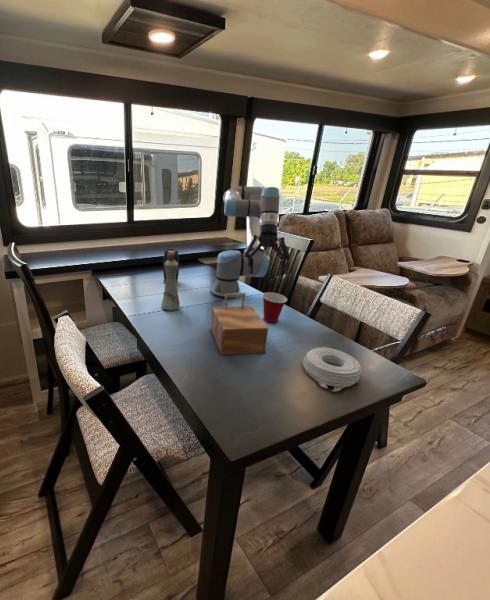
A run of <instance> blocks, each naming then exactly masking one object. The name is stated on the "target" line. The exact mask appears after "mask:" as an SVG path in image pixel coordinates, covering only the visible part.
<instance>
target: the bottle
mask: <svg viewBox="0 0 490 600" xmlns="http://www.w3.org/2000/svg"><path fill="white" fill-rule="evenodd" d="M167 257H168V260H167V261H166V262H165V264H164V265H165V272H166V282H164V290H163V296H162V303H161V308H162V309H163V310H166V311H171V312H172V311H178V309H179V308H180V297H179V291H178V290H179V289H178V281H177V282H176V273H177V267H178V263H177V262H176V261H175V260H174V259H175V253H173V252H170V253H168V254H167Z"/></svg>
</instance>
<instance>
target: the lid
mask: <svg viewBox="0 0 490 600" xmlns="http://www.w3.org/2000/svg"><path fill="white" fill-rule="evenodd" d="M245 298H246V293H245V292H240V293H225V298H224V306H212V311H213V310H214V313H215V315H216V317H217V319H218V321H219V323H220V325H221V327H222V329H223V331H242V330H268V331H269V327H268V326H267V324H266V323H265V321H263V320H264V319H262V317H260V315H259V314H258V312H257V311H256V310H255V308H254V307H253V306H252V305H244V304H245ZM228 299H241V304H240V306H239V305H236V306H235V305H233V306H231V305H230V306H228Z"/></svg>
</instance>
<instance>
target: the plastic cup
mask: <svg viewBox="0 0 490 600" xmlns="http://www.w3.org/2000/svg"><path fill="white" fill-rule="evenodd" d="M261 295H262V296H261V297H262V302H263V304H262V305H263V320H264V322H266V323H269V324H276V323H278V320H279V317H280V315H281V313H282V310H283V307H284V306H285V304H286V303H287V302H288V298H287V296H285V295H283V294H280V293H277V292H272V291H271V292H270V291H269V292H264V293H262V294H261Z"/></svg>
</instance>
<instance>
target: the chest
mask: <svg viewBox="0 0 490 600" xmlns="http://www.w3.org/2000/svg"><path fill="white" fill-rule="evenodd" d="M210 332H211V333H212V336H213V338H214V341H215V344H216V346H217V348H218V351H219V353H220V355H243V354H245V355H246V354H265V351H266V346H267V340H268V333H269V329H268V330H242V331H223V329H222V327H221V325H220V323H219V321H218V319H217V317H216V315H215V313H214V310H213V309H212V315H211V329H210Z"/></svg>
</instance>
